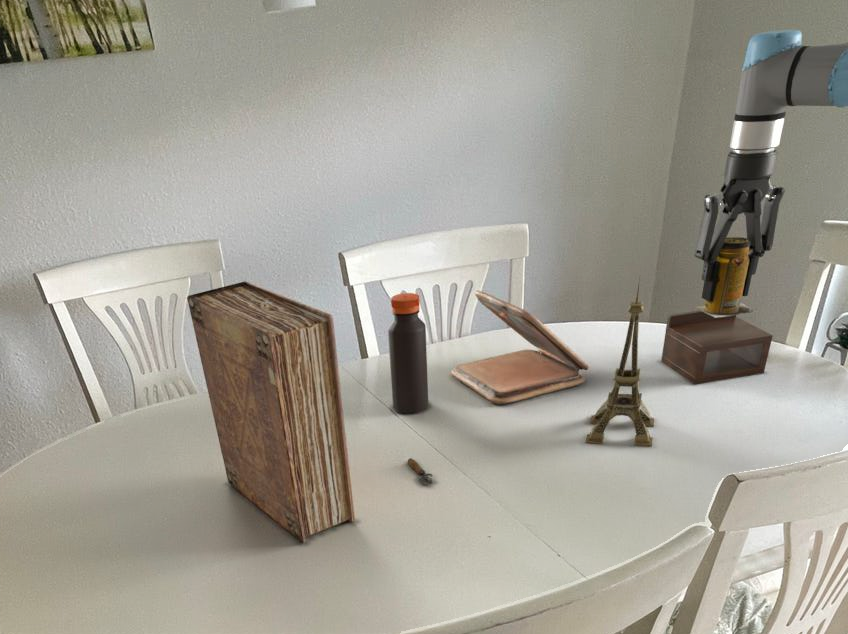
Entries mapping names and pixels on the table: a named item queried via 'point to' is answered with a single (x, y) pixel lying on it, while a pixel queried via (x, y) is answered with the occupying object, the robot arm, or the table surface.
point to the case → (522, 360)
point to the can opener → (420, 472)
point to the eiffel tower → (625, 402)
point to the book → (276, 404)
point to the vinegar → (408, 355)
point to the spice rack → (714, 347)
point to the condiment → (730, 279)
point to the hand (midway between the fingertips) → (724, 296)
